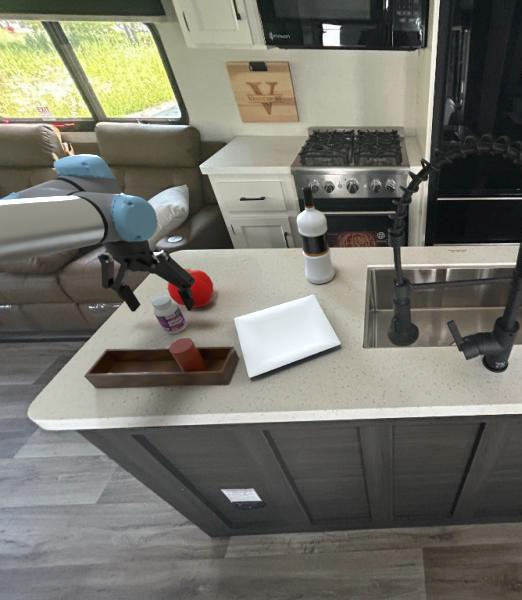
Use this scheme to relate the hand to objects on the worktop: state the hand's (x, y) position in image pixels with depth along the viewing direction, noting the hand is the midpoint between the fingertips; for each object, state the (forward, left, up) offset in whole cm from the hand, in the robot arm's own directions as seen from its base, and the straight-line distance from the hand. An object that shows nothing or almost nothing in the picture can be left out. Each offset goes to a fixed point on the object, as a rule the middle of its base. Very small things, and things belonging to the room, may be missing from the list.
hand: (164, 307), depth 83 cm
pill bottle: (0, 0, -8) cm, 8 cm away
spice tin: (0, -19, -7) cm, 20 cm away
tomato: (+8, +8, -8) cm, 14 cm away
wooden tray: (-5, -15, -7) cm, 18 cm away
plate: (+21, -22, -8) cm, 31 cm away
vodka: (+42, -5, -7) cm, 43 cm away
